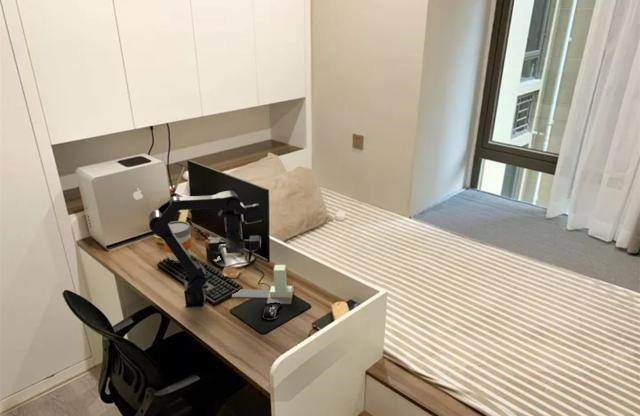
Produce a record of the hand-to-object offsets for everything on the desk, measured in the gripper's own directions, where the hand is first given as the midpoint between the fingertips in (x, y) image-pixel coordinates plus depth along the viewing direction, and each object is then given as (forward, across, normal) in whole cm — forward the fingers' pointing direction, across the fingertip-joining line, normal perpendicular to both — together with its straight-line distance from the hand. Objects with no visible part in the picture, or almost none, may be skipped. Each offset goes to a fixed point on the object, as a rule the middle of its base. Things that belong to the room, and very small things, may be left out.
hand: (236, 263), depth 168 cm
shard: (+14, -6, +15) cm, 21 cm away
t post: (+12, +16, -3) cm, 21 cm away
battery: (+13, -13, +27) cm, 33 cm away
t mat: (+13, +8, -2) cm, 15 cm away
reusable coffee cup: (+13, -29, +30) cm, 44 cm away
